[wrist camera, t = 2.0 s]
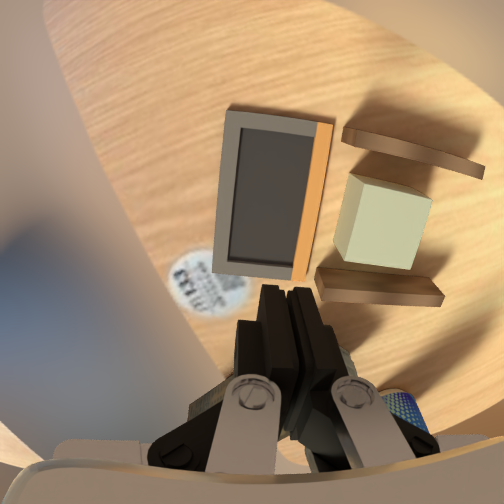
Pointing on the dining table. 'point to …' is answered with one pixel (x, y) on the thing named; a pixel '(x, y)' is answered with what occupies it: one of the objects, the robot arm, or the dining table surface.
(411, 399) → the beer can
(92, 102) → the dining table surface
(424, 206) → the block
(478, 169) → the brown parallel walls
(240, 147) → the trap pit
